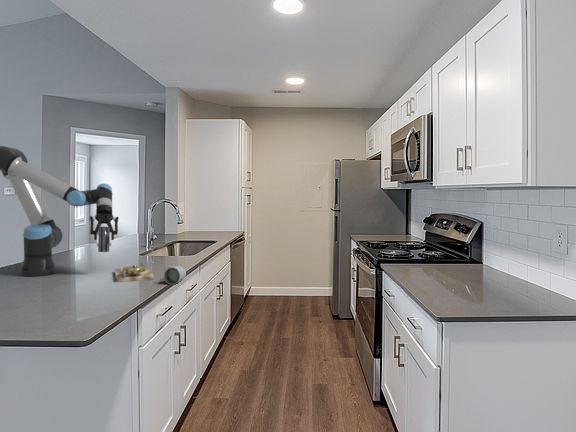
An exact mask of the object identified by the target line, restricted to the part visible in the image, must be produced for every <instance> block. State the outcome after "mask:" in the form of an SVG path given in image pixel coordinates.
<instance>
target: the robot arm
mask: <svg viewBox="0 0 576 432" xmlns="http://www.w3.org/2000/svg"><path fill="white" fill-rule="evenodd" d="M28 162H29V159H28V157H27V156H26V154H25V153H24V152H23V151H21V150H19V148H14V147H10V146H9V147H8V146H5V145H0V172H1V173H2V175H3V177H4V179H6V180H9V182H10V184H11V186H12V188H13V190H14V193H15V194H16V196H17V198H18V201H19V203H20V204H21V207H22V209H23V211H24V213H25V215H26V217H27V220H29V221H28V222H29V223H30V225H27V226H24V229H23V234H22V235H23V261H22V264H21V267H20V270H19V275H20V276H22V277H41V276H42V277H43V276H49V275H53V274H57V266H56V265H55V262H54V259H53V254H52V253H53V248H56V247H57V246H58V245H59V244H60V243H61V242H62V240H63V231H62V229H61V228H60V227H59V226H57V224H56V223H55V221H54V219H53V218H52V217H49V216H48V212H47V211H46V209H45V207H44V205H43V203H42V201H41V199H40V196H39V194H38V192H37V190H36V188H35V186H36V187H38V188H40V189H42V190H44V191H45V192H47V193H49V194H51V195H54V197H55V196H56V198H60V199H61V200H63V201H65V202H67V203H68V204H69V205H70V206H72V207H74V208H75V207H84V206H89V205H95V204H96V205H95V206H96V210H95V211H96V213H95V216H92V215H90V216H89V222H90V230H89V231H90V234H89V235H93V237H94V238H93V241H96V247H97V248H98V243H99V227H102V225H103V224H104V225H107V226H106V227H110V240H109V247H112V241H114V239H115V238H114V237H115V236H114V235H116V236H117V235H118V231H119V226H118V222H119V216H114V214H113V188H112V186H111V185H110V184H108V183H100V184H98V185H97V187H96V188H94V189H89V190H79V189H77V188H75V187H73V186H71V185H69V184H68V183H65V182H64V181H62V180H60V179H58V178H56V177H55V176H52V175H50V174H49V173H47V172H45V171H43V170H41V169H39V168H37V167H35V166H33V165H32V164H30V163H28ZM95 221H97V224H96V225H95V226H96V227H95V229H94V222H95ZM112 221H113V222H114V229H113V225H112V223H111V222H112Z"/></svg>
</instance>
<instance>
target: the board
mask: <svg viewBox="0 0 576 432" xmlns="http://www.w3.org/2000/svg"><path fill="white" fill-rule="evenodd" d="M140 266H145V262H140ZM114 275H115V280H116V283H122V282H123V283H125V282H139V281H141V282H142V281H153V280H155V276H154V274H153V273H152V271H151V269H150V268H149V267H146V271H145V272H141V273H140V272H138V276H131V273H126V271H123V268H117V269H116V268H115V269H114Z"/></svg>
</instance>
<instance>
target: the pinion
mask: <svg viewBox="0 0 576 432" xmlns="http://www.w3.org/2000/svg"><path fill="white" fill-rule="evenodd" d="M98 232H99V243H98V247H97V249H98V250H97V252H99V253H109V252H110V246H109V240H110V227H108V226H100V227H99V231H98Z"/></svg>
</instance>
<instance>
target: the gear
mask: <svg viewBox="0 0 576 432" xmlns="http://www.w3.org/2000/svg"><path fill="white" fill-rule="evenodd" d="M146 268H147V266H145V265H144V266H141V265H136V264H135V265H131V266H130V265H128V266H123V268H122V269H123V271H126V273H131V276H138V272H140V273H141V272H145V271H146Z"/></svg>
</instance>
